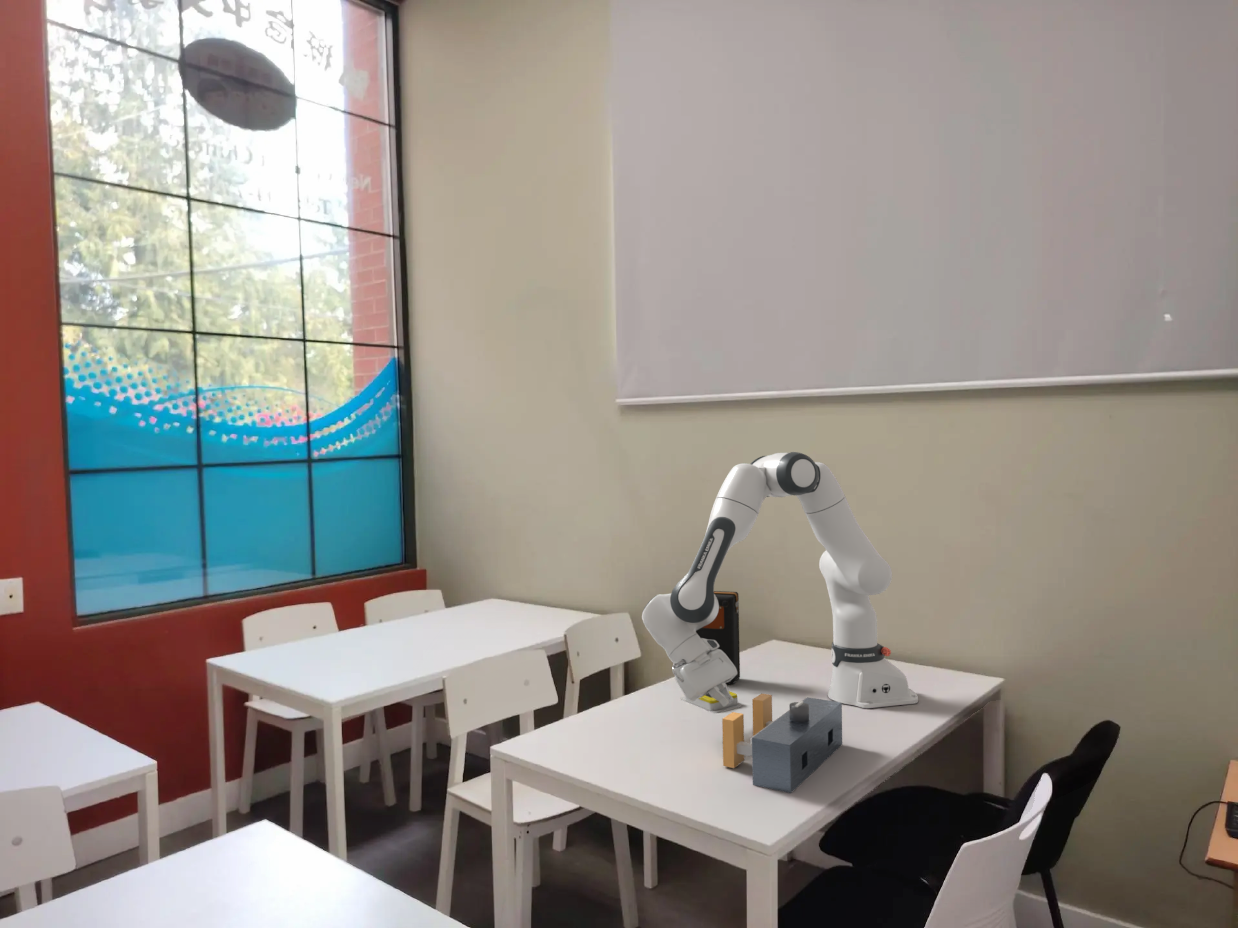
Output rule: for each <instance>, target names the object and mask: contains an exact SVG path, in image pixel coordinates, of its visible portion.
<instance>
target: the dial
mask: <svg viewBox="0 0 1238 928" xmlns="http://www.w3.org/2000/svg"><path fill="white" fill-rule="evenodd" d="M788 705H789V707H788V708H789V710H790V720H791V721H794V722H807V721H809V705H808V704H806V703H803V701H802V700H800V701H794V702H790V703H789V704H788Z"/></svg>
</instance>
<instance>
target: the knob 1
mask: <svg viewBox="0 0 1238 928" xmlns="http://www.w3.org/2000/svg"><path fill="white" fill-rule="evenodd" d="M721 722H722V724H721V725H722V727H721V728H722V729H721V730H722V766H723V767H727V768H731V769H735V768H737V767H738V766H739V765H740V764H741V763H744V761H745V756H747V757H752V745H751V744H750V742H747V741H745V735H744V734H745V732H744V731H745V727H744V726H745V724H744V713H742V712H741V713H740V712H734V711H732V712H731V713H729V714H728V715H726V716H724V717H722V719H721Z"/></svg>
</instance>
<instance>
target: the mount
mask: <svg viewBox="0 0 1238 928" xmlns="http://www.w3.org/2000/svg"><path fill="white" fill-rule="evenodd" d="M801 701H803V703H806V704H808V705H809V721H807V722H794V721H791V720H790V709H788V710H787V711H785V712H784V713H782V715H780V716H779V717H777V718H776V719H775V720H772V721H773V722H772V723H771V724H769V725H768V726H766V727H765V728H764V729H762V730H761V731H760V732H758V733H757V734H756V735H754V736H753V735H752V737H750V738H749V743H750V744H751V745H752V756H751V757H752V759H751V761H752V785H753V786H756V787H762V788H765V789H771V790H775V791H779V792H783V793H787V794H792V793H793V792H794V791H795V790H796V789H797V788H798V787H799V786H800V785H801V784H803V782H804V781H806V779H808V778H809V777H810V776H811V775H812V774H813V773H814V772H815V771H816V770H817V769H818V768H819V767H821V765H822V764H823V763H824V762H825V761H827V760H828V759H829V758H830V757H831V756H832V755H833V754H834V753H835V752H836V751H837V750H839V748H841V747H842V745H843V710H842V708H843V703H842V702H836V701H834V700H828V699H821V698H816V697H805V698H803V699H802V700H801Z"/></svg>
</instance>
